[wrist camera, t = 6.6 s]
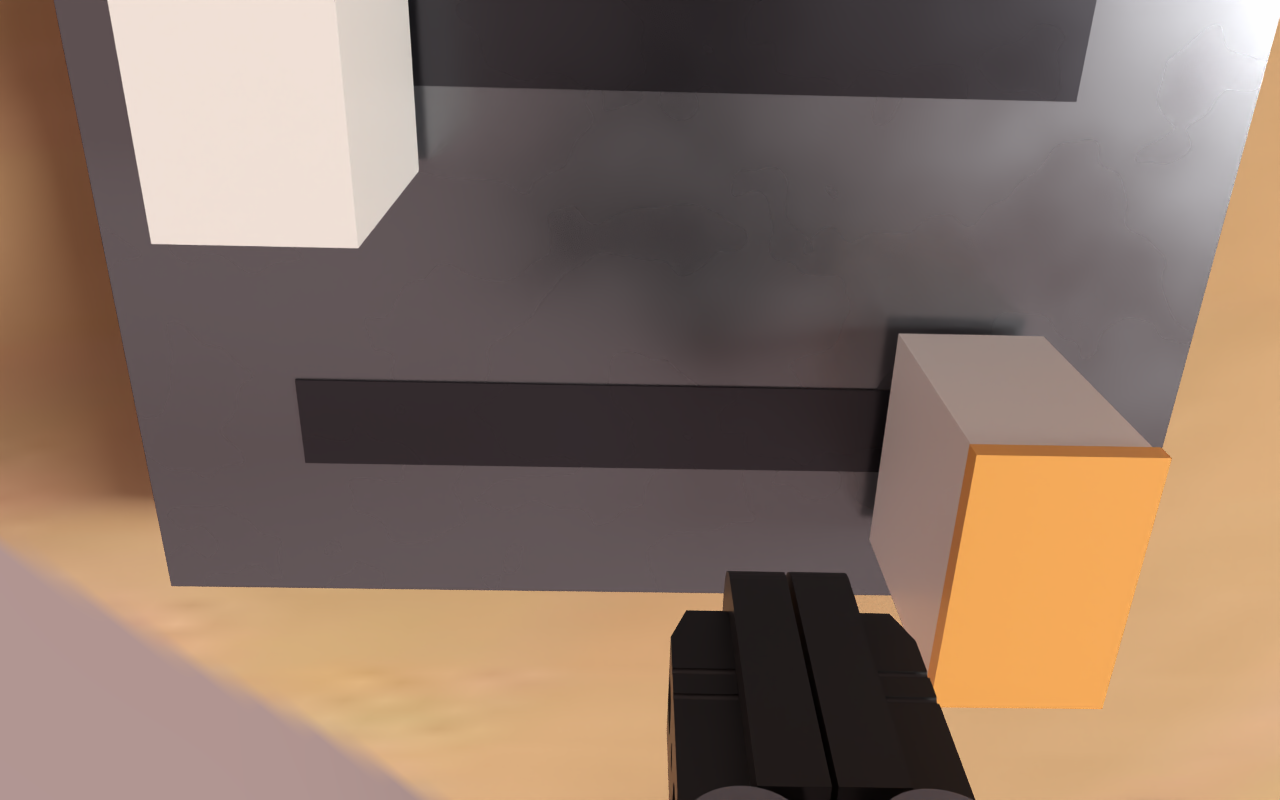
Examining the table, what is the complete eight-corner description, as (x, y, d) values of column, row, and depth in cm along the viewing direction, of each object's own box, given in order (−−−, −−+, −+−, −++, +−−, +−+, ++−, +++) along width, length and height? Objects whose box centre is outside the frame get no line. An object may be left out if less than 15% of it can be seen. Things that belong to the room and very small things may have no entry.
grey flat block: (1356, -750, 14) (1534, -911, 11) (1061, 515, 23) (1122, 599, 20) (7, -810, 14) (-149, -994, 11) (226, 503, 22) (170, 587, 19)
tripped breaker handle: (1047, 333, 17) (1171, 458, 13) (1003, 543, 19) (1102, 709, 15) (896, 330, 17) (976, 454, 13) (866, 541, 19) (929, 706, 15)
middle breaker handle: (400, -124, 14) (322, -136, 10) (418, 170, 16) (358, 248, 12) (221, -129, 14) (81, -143, 10) (259, 167, 16) (151, 244, 12)
